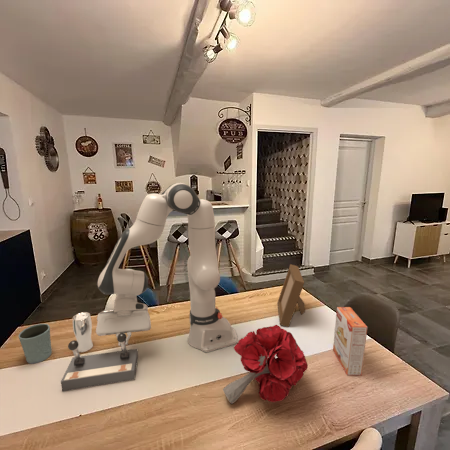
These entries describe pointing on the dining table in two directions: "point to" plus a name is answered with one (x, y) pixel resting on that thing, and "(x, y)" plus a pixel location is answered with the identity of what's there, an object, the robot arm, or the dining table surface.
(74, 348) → the lever
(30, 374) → the dining table surface
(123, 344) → the lever
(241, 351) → the bouquet
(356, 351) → the cracker box
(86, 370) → the switch unit
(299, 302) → the photo frame
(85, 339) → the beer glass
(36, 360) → the green plant pot
